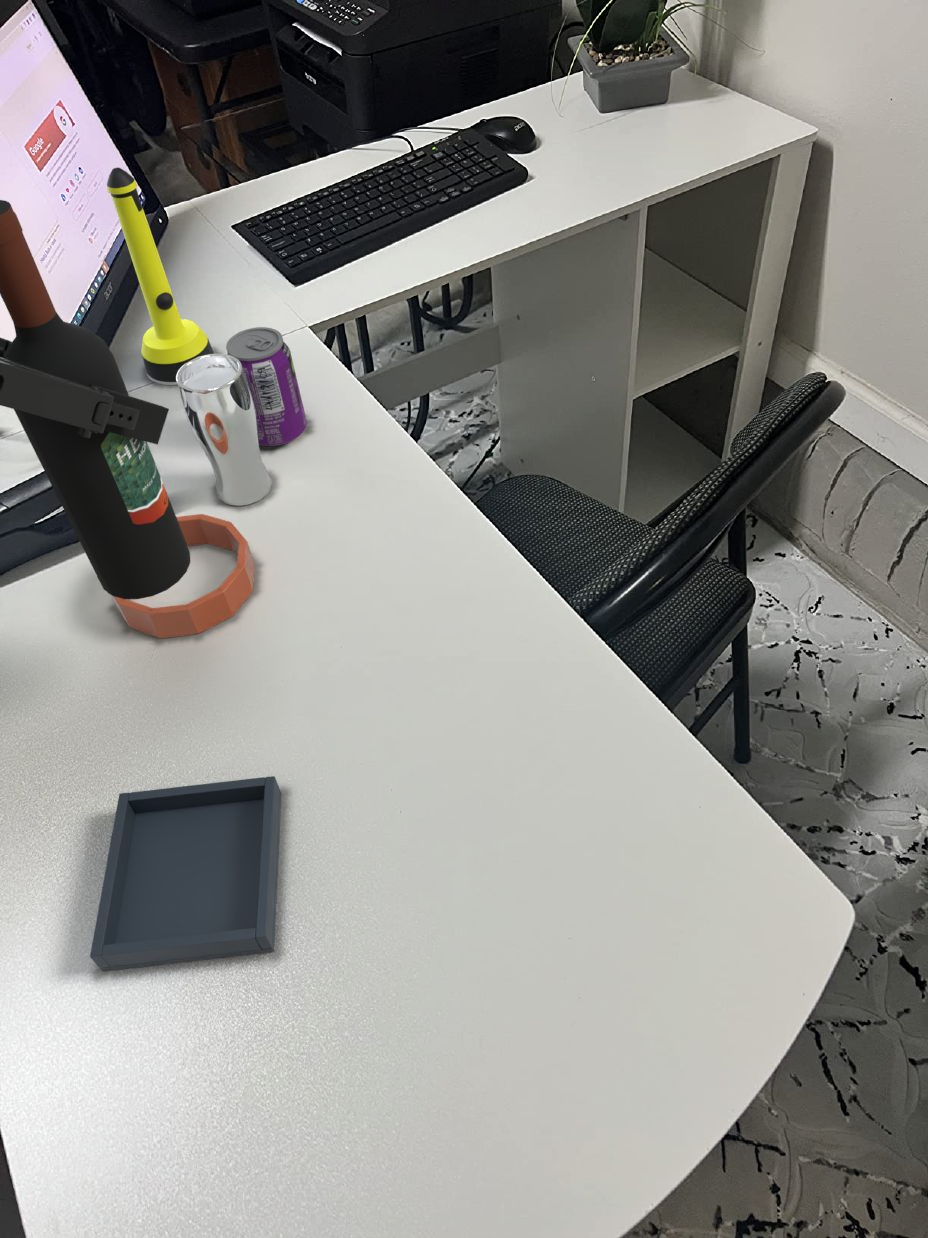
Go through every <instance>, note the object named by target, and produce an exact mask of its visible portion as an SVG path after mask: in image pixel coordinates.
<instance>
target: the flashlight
mask: <svg viewBox="0 0 928 1238" xmlns="http://www.w3.org/2000/svg"><path fill="white" fill-rule="evenodd" d="M137 187H138V183H137V182H136V180H135V178H134V177H133V176H132V175H131V174H130V173H129V172H127V171H126V170H124V169H123V168H121V167H114V168H112V169H111V171H110V172H109V175H108V178H107V181H106V188H107V192H108V193H109V194H110V196H111V198H112V202H113V205H114V208H115V212H116V215H117V217H118V221H119V223H120V228H121V230H122V233H123V237H124V239H125V243H126V245H127V248H128V253H129V255H130V258H131V261H132V264H133V268H134V270H135V274H136V276H137V281H138V283H139V287H140V289H141V293H142V295H143V299H144V302H145V304H146V308H147V310H148V315H149V317H150V320H151V324H152V326H151V327H150V328H149V329H147V330H146V331H145V333H143V336H142V344H141V349H140V353H141V356H142V360H143V361H142V362H143V364H144V368H145V372H146V376H147V377H148V378H149V379H150V381H152V382H153V383H156V384H159V385H166V386H178V383H177V381H176V375H177V373H178V371H179V369H180V368H181V367H182V366H183V365H184V364H186V363H187V362H189V361H191V360H193V359H195V358H197V357H200V356H204V355H209V354H215V352H214V350H213V348H212V345H211V342H210V340H209V338H208V335H207V333H205V332H204V330H202V328H201V327H200V326H199V325H198V324H197V323H196V322H194V321H192V320H191V319H190V320H189V319H185V318H184V319H183V318H181V316H180V312H179V310H178V307H177V304H176V301H175V298H174V295H173V291H172V289H171V286H170V283H169V280H168V277H167V274H166V272H165V269H164V266H163V262H162V260H161V257H160V254H159V251H158V249H157V245H156V243H155V240H154V237H153V234H152V231H151V228H150V225H149V223H148V219H147V216H146V214H145V210H144V208H143V204H142V202H141V199H140V195H139V193H138V190H137Z"/></svg>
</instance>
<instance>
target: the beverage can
mask: <svg viewBox="0 0 928 1238" xmlns="http://www.w3.org/2000/svg"><path fill="white" fill-rule="evenodd" d="M225 346H226V347H225V348H226V352H227V355H231V356H233V357H235V358H237V359H238V360H239V361H240V362H241V365H242V368H243V371H244V374H245V376H246V379H247V382H248V384H249V387H250V390H251V393H252V396H253V400H254V404H255V408H256V414H257V422H258V435H259V446H266V447H275V446H281V445H286V444H288V443H291V442H293V441H294V440H296V439H298V438H299V437H300V436H301V435H302V434H304V432H305V430H306V428H307V425H308V421H307V416H306V412H305V408H304V404H303V400H302V395H301V390H300V387H299V383H298V378H297V374H296V370H295V366H294V362H293V361H294V360H293V357H292V353H291V350H290V347H289V346H288V345H287V343H286V342H285V341H284V338H283V334H282V333H281V331H279V330H278V329H274V328H272V327H266V326H256V327H250V328H247V329H244V330H242V331H239V332H237V333H235V334H234V335H232V336H231V337H230V338H229V339H228V340H227V342H226V344H225Z"/></svg>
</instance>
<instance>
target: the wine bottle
mask: <svg viewBox="0 0 928 1238" xmlns="http://www.w3.org/2000/svg"><path fill="white" fill-rule="evenodd" d="M0 297H1V299H2V301H3V303H4V306H5V307H6V310H7V312H8V314H9V316H10V319H11V321H12V323H13V327H14V331H15V337H14V338H13V340H12V341H11V342H12V343H11V344H10V346H9V347H8V349H7V350H6V351H5V353H4V355H3V358H5V359H8V360H11V361H14V362H17V363H20V364H23V365H26V366H29V367H31V368H34V369H37V370H40V371H43V372H46V373H49V374H52V375H55V376H58V377H61V378H64V379H67V380H70V381H73V382H76V383H79V384H82V385H85V386H88V387H90V384H92V385H95V386H98V387H102V388H105V389H108V390H111V391H115V392H118V393H121V394H124V395H128V396H130V394H129V392H128V389H127V387H126V383H125V382H124V379H123V376H122V374H121V371H120V369H119V366H118V364H117V361H116V359H115V355H114V354H113V353H112V351H111V350H110V348H109V346H108V344H107V343H106V341H105V340H104V339H103V338H101V337H100V336H99V335H97V334H96V333H94V332H93V331H91V330H90V329H88V328H86V327H83V326H81V325H78V324H74V323H70V322H67V321H64V320H63V319H62V318H61V316H60V315H59V314H58V312H57V311H56V308H55V306H54V304H53V301H52V299H51V296H50V294H49V292H48V289H47V287H46V284H45V283H44V280H43V278H42V275H41V273H40V270H39V268H38V266H37V263H36V261H35V258H34V257H33V254H32V251H31V248H30V247H29V245H28V242H27V240H26V238H25V234H24V232H23V227H22V225H21V223H20V220H19V218H18V215H17V213H16V212H15V210H14V209H13V207H12V205H11V203H10V202H9V201H7V200H4V199H0ZM13 410H14V413H15V415H16V417H17V419H18V421H19V423H20V425H21V427H22V428H23V431H24V433H25V435H26V436H27V438H28V440H29V441H28V442H30V445H31V447H32V448H33V451H34V453H35V455H36V457H37V459H38V461H39V463H40V465H41V466H42V469H43V470H44V473H45V475H46V477H47V479H48V481H49V483H50V485H51V486H52V488H53V490H54V492H55V495H56V497H57V499H58V501H59V504H60V505H61V507H62V509H63V511H64V513H65V516H66V517H67V519H68V521H69V523H70V525H71V527H72V529H73V531H74V533H75V535H76V537H77V539H78V541H79V543H80V545H81V547H82V549H83V551H84V553H85V555H86V557H87V559H88V561H89V563H90V565H91V567H92V569H93V571H94V573H95V575H96V577H97V579H98V581H99V583H100V585H101V587H102V589H103V590H104V591H105V592H106V593H108V594H109V595H110V596H111V595H112V596H115V597H118V598H122V599H127V600H141V599H146V598H151V597H154V596H156V595H159V594H161V593H163V592H166V591H167V590H169V589H171V588H172V587H174V585H176V584H177V583H179V581H181V579H182V578H183V577H184V575H185V574H186V573H187V572H188V569H189V567H190V565H191V551H190V549H189V546H187V543H186V541H185V538H184V536H183V533H182V531H181V528H180V525H179V523H178V520H177V518H176V517H177V515H176V513H175V510H174V508H173V505H172V503H171V499H170V497H169V495H168V492H167V489H166V487H165V484H164V482H163V479H162V477H161V474H160V472H159V469H158V467H157V464H156V461H155V459H154V457H153V453H152V451H151V449H150V446H149V444H148V443H149V442H146V441H142V440H138V439H134V438H130V437H126V436H123V435H119V434H115V433H111V432H107V431H104V432H103V433H101V434H100V433H97V434H96V433H93V432H92V433H91V436H90V438H85V437H83V436H81V435H80V434H78V431H79V427H77V426H73V425H70V424H66V423H63V422H59V421H55V420H52V419H48V418H44V417H41V416H37V415H34V414H30V413H26V412H23V411H19V410H15V409H13ZM112 596H111V597H112Z"/></svg>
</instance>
